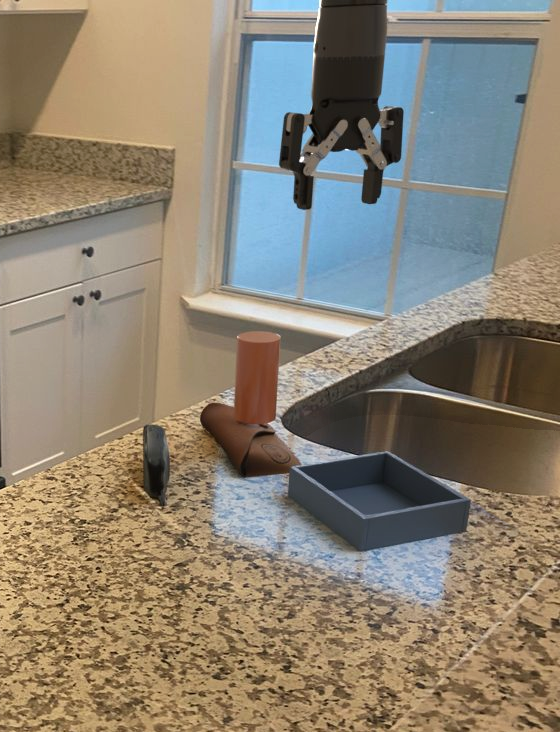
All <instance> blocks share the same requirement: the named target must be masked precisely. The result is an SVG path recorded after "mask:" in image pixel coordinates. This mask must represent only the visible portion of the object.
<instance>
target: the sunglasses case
mask: <svg viewBox="0 0 560 732" xmlns="http://www.w3.org/2000/svg"><path fill="white" fill-rule="evenodd" d="M199 422H200V424H201V426H202V427H203V429H204V430H206V431H207V432H208V433H209V435H210V436H211V437H212V438H213V439H214V441H215V442H216V443H217V444H218V446H219V447H220V448H221V449H222V451H223V452H224V453H225V455H226V457H228V459H229V460H230V461H231V463H232V465H233V466H234V468H235V469H236V471H238V472H239V473H240V474H241V475H242V476H243V477H244V479H246V478H247V479H248V478H256V477H267V476H277V475H285V474H289V470H290V467H291V466H298V465H303V464H302V463H301V461H300V460H299V458H298V457H297V456H296V455H295V453H294V452H293V451H292V449H290V447H289V446H288V445H287V444H286V443H285V441H283V440H282V438H281V437H279V435H278V434H277V433H276V431H277V430H276V429H275V428H274V427H273V426H272V425H271V424H269V423H266V424H246V423H242V422H239V421H237V420H235V419H234V406H232V405H229V404H225V403H221V402H210V403H207V405H206V406H204V407H203V409H202V410H201V412H200V415H199Z"/></svg>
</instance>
